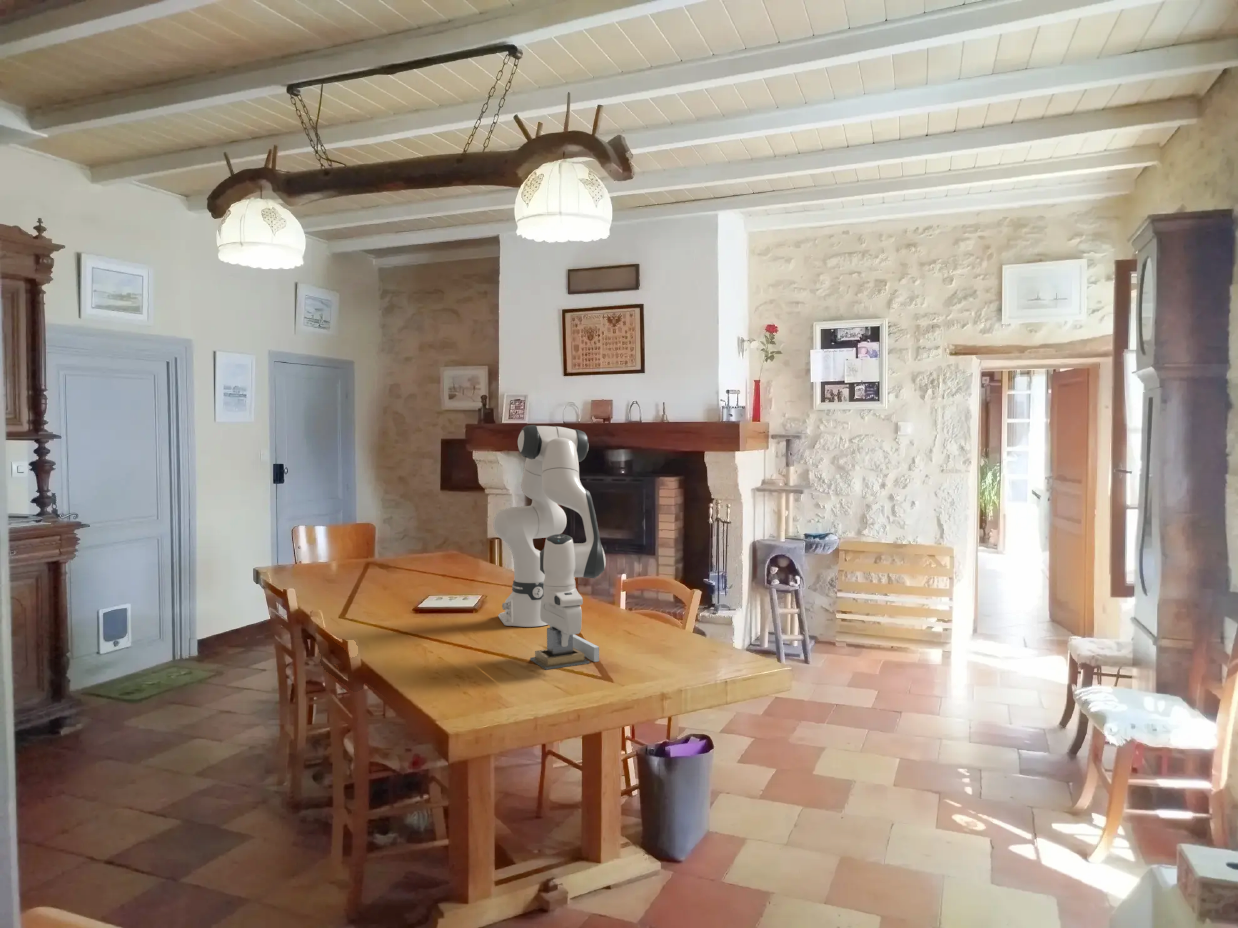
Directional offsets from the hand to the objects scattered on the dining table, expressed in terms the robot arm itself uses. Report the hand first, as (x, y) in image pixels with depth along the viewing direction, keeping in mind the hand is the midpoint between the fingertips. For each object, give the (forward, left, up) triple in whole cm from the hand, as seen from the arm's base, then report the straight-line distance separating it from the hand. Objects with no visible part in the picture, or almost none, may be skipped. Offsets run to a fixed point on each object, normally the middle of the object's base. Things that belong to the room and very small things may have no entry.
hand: (559, 643), depth 231 cm
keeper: (0, 0, -5) cm, 5 cm away
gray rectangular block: (0, 0, -3) cm, 3 cm away
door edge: (-4, +9, -5) cm, 11 cm away
